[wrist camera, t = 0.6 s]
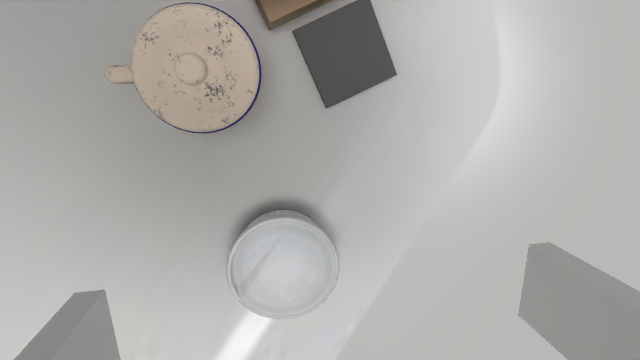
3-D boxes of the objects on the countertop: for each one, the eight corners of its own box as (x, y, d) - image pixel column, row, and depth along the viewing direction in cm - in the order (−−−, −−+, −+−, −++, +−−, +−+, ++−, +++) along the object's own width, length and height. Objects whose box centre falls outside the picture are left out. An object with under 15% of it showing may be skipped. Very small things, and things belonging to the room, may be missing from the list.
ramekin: (229, 201, 37) (224, 218, 31) (332, 199, 38) (342, 216, 33) (232, 293, 39) (227, 323, 34) (328, 288, 41) (336, 316, 36)
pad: (292, 31, 33) (293, 30, 33) (366, -4, 33) (368, -5, 33) (326, 107, 35) (327, 108, 35) (394, 74, 36) (397, 74, 35)
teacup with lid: (258, 24, 33) (255, -10, 21) (265, 120, 35) (265, 135, 24) (123, 25, 31) (44, -12, 20) (140, 126, 33) (77, 144, 22)
